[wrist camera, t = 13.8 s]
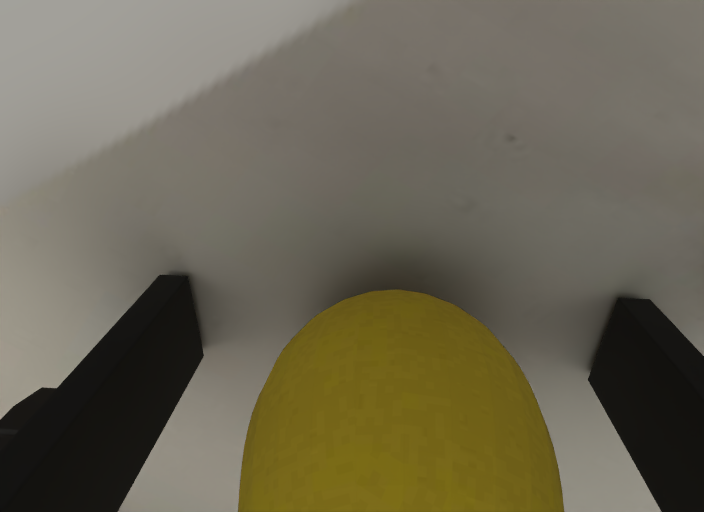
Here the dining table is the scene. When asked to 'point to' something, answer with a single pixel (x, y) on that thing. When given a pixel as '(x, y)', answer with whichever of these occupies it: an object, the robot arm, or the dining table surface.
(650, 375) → the robot arm
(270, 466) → the lemon
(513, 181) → the dining table surface
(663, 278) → the dining table surface
